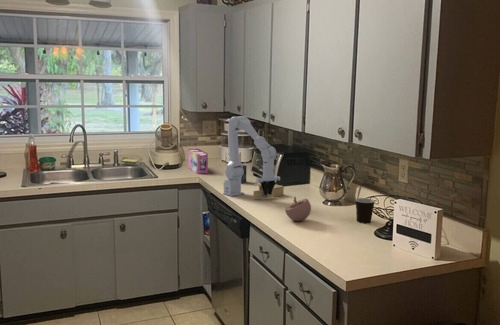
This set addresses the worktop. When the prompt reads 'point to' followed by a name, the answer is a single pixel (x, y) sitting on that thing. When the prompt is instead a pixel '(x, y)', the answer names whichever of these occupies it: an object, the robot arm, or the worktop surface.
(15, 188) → the worktop surface
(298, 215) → the mortar and pestle
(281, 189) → the carton
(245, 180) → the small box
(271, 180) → the robot arm
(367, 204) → the coffee mug
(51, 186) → the worktop surface
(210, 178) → the worktop surface
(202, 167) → the gum box
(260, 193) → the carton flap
